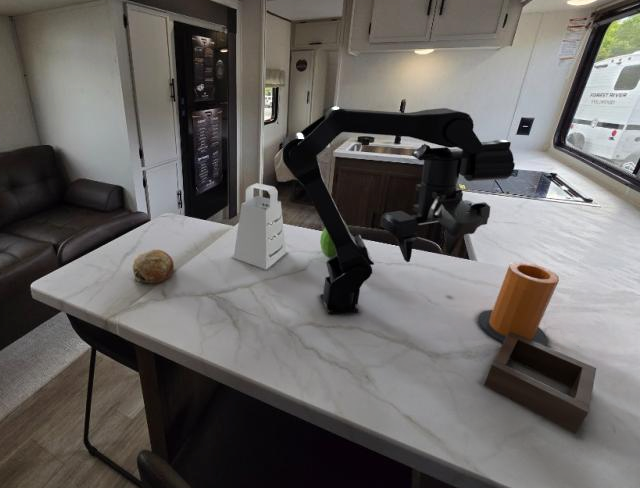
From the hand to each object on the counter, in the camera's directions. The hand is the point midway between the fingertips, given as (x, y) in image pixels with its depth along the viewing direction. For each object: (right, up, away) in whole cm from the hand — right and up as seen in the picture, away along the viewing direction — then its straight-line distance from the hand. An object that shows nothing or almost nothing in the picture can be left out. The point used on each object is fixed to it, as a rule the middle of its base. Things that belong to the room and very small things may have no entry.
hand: (427, 257), depth 67 cm
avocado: (-12, +3, +23) cm, 26 cm away
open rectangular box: (+10, -20, -12) cm, 25 cm away
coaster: (+16, -14, 0) cm, 22 cm away
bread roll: (-59, -6, +19) cm, 62 cm away
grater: (-32, -3, +27) cm, 42 cm away
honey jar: (+16, -14, -1) cm, 21 cm away
